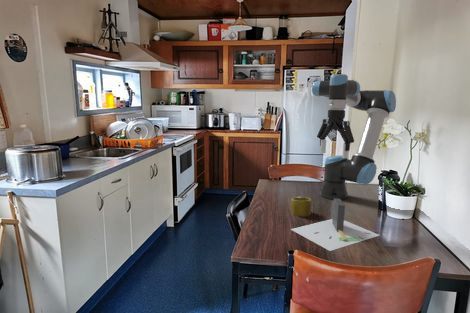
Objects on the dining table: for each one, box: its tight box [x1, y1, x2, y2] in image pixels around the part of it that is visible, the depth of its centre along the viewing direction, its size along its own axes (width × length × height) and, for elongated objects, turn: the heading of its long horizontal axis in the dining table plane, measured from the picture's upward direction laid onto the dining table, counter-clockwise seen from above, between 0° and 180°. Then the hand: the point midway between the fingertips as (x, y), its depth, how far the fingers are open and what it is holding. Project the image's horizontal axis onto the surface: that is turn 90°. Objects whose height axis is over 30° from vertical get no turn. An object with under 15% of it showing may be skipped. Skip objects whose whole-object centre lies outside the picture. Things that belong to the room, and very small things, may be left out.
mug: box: [290, 196, 312, 217], centre depth 155 cm, size 12×10×10 cm
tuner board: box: [290, 218, 381, 252], centre depth 133 cm, size 28×22×1 cm
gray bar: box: [331, 198, 347, 240], centre depth 133 cm, size 18×3×11 cm, turn 174°
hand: (333, 155), depth 151 cm, fingers open, 13 cm apart
